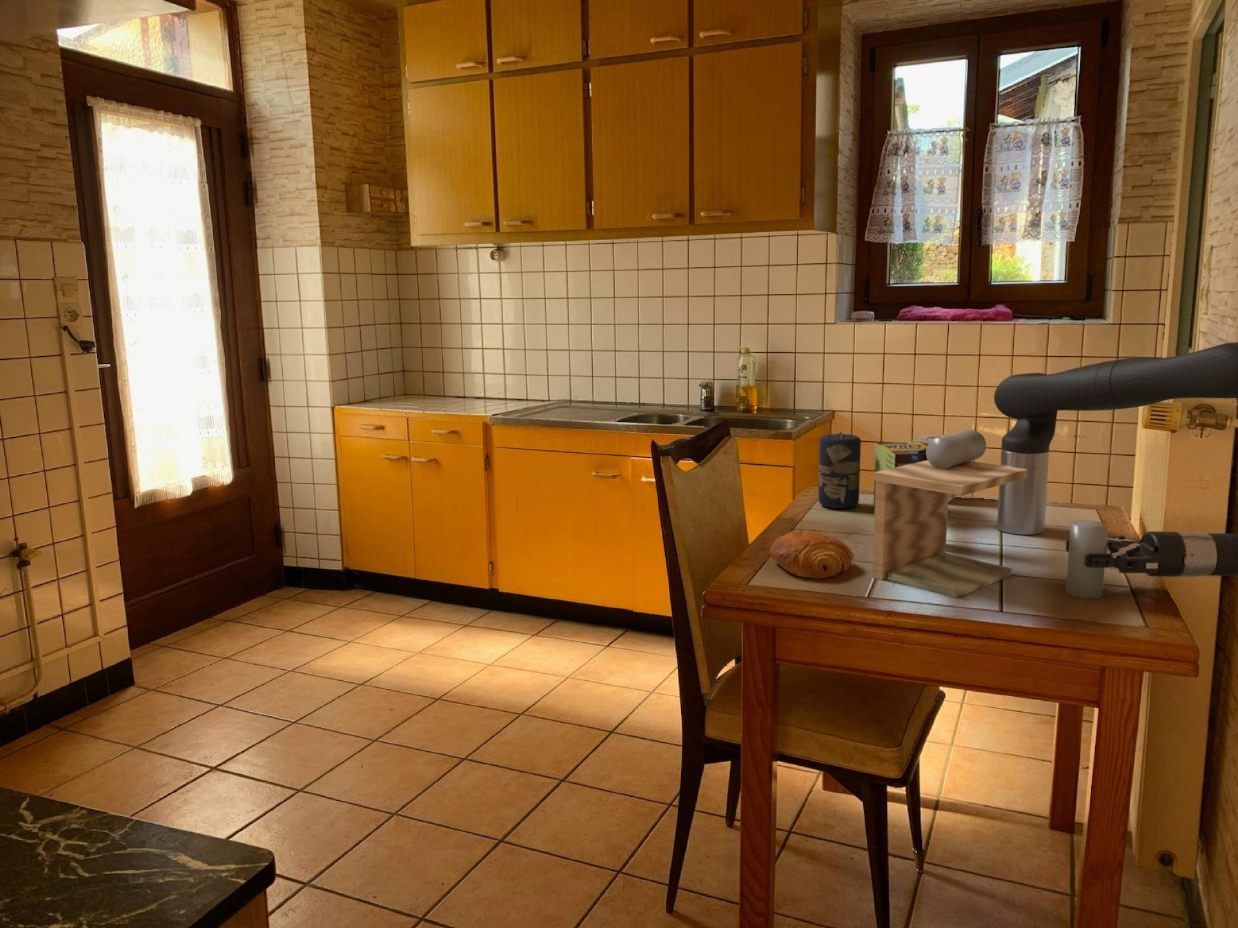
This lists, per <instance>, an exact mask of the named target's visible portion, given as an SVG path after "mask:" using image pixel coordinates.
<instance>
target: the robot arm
mask: <svg viewBox="0 0 1238 928" xmlns="http://www.w3.org/2000/svg"><path fill="white" fill-rule="evenodd" d="M1174 399H1235V400H1236V402H1237V404H1238V341H1235V342H1226V343H1225V342H1224V343H1222V344H1218V345H1215V346H1214V345H1213V346H1212V347H1209V348H1208V347H1207V348H1204V349H1200V350H1196V351H1193V352H1189V353H1183V354H1180V355H1175V356H1168V357H1167V356H1166V357H1147V356H1144V357H1142V356H1141V357H1140V356H1139V357H1128V358H1120V359H1114V360H1113V359H1112V360H1108V361H1107V360H1106V361H1102V362H1097V363H1091V364H1088V365H1084V366H1079V367H1074V368H1071V369H1068V370H1064V371H1060V372H1055V373H1050V374H1049V373H1047V374H1046V373H1043V372H1033V373H1032V372H1030V373H1029V372H1027V373H1019V374H1017V373H1016V374H1013V375H1010V376H1008V377H1006V378H1004V379H1003V380H1002V381H1001V382H999V383H998V386H997V387H996V389H995V391H994V395H993V400H994V404H995V406H996V408H997V410H998V411H999V412H1000V413H1001V414H1003V415H1004V416H1005V417H1007V418H1011V419H1015V420H1016V422H1015V424H1014V426H1013V427H1012V428H1011V430H1009V431H1008V432H1007V433H1005V434H1004V435H1003V436H1002V438H1001V450H1000V451H1001V452H1000V465H1001V466H1008V467H1015V468H1022V469H1027V478H1024V479H1020V480H1017V481H1013V482H1009V483H1006V484H1002V485H999V486H998V502H997V518H996V519H997V520H996V528H997V530H999V531H1002V532H1004V533H1008V534H1014V535H1024V536H1027V535H1028V536H1029V535H1039V534H1043V533H1044V531H1045V528H1046V526H1045V525H1046V515H1047V514H1046V512H1047V511H1046V509H1047V498H1048V475H1049V474H1048V472H1049V460H1050V459H1049V457H1050V445H1051V443H1052V440H1053V439H1054V436H1055V432H1056V426H1057V425H1056V424H1057V416H1058V411H1074V412H1075V411H1080V412H1081V411H1084V412H1085V411H1086V412H1087V411H1088V412H1089V411H1090V412H1091V411H1092V412H1093V411H1095V412H1096V411H1115V410H1127V409H1133V408H1139V407H1146V406H1150V405H1154V404H1158V403H1162V402H1165V401H1169V400H1174ZM1065 551H1066V552H1067V553H1068V552H1069V539H1067V540H1066V541H1065ZM1084 565H1085V566H1086V567H1089V568H1106V569H1110V570H1114V571H1117V570H1118V573H1121V574H1146V575H1147V576H1148V577H1161V578H1163V577H1168V578H1170V577H1171V578H1175V577H1176V578H1179V577H1181V578H1195V577H1196V578H1197V577H1204V576H1208V577H1209V576H1210V577H1211V576H1212V577H1215V576H1217V577H1219V576H1220V577H1230V576H1233V577H1234V576H1238V534H1235V533H1221V532H1218V533H1214V532H1213V533H1212V532H1211V533H1210V532H1208V533H1207V532H1206V533H1204V532H1196V531H1163V530H1162V531H1161V530H1160V531H1157V530H1156V531H1151V530H1150V531H1146V532H1144V534H1143V535H1142V536H1141V539H1140V540H1139V541H1138V542H1135V541H1134V540H1133V539H1129V538H1127V537H1126V536H1124V535H1107V545H1106V554H1099V553H1087V554H1086V555H1085V561H1084Z"/></svg>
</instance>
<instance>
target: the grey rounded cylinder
mask: <svg viewBox="0 0 1238 928" xmlns="http://www.w3.org/2000/svg"><path fill="white" fill-rule="evenodd" d="M1069 525H1070V526H1069V539H1068V540H1069V552H1067V553H1068V556H1067V569H1066V570H1067V571H1066V581H1065V583H1066V584H1065V593H1066V594H1067V595H1070V596H1072V597H1075V598H1076V597H1077V598H1080V599H1099V598H1100V599H1101V598H1102V597H1103V596H1104V595H1103V594H1104V592H1103V591H1104V582H1105V581H1104V580H1105V568H1089V567H1086V566H1085V565H1084V561H1085V555H1086V554H1087V553H1099V554H1106V545H1107V536H1108V528H1109V525H1108V524H1106V523H1104V522H1100V521H1095V520H1088V519H1087V520H1082V519H1081V520H1079V519H1078V520H1073V521H1071V522H1070V524H1069Z"/></svg>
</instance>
